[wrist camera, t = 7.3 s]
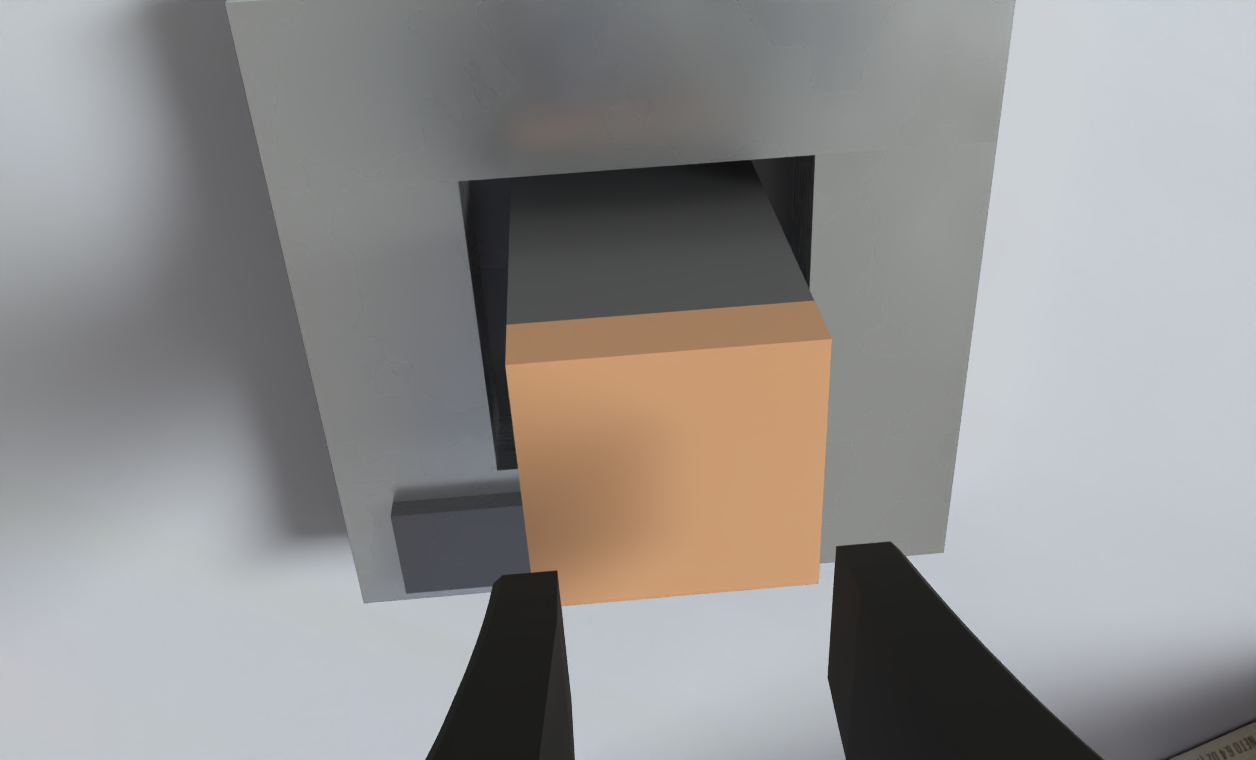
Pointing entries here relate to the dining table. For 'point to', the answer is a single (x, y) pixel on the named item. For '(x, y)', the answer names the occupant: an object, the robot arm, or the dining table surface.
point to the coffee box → (1226, 747)
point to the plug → (664, 384)
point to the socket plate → (597, 141)
